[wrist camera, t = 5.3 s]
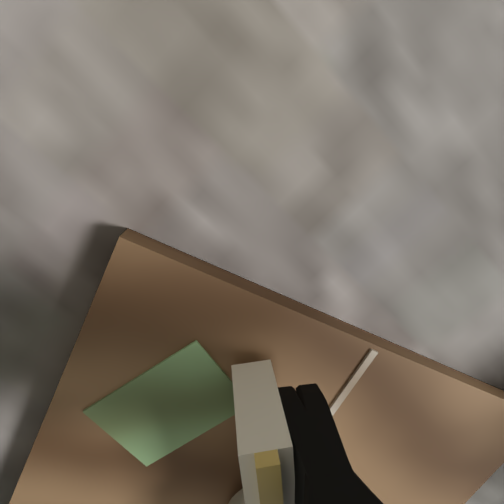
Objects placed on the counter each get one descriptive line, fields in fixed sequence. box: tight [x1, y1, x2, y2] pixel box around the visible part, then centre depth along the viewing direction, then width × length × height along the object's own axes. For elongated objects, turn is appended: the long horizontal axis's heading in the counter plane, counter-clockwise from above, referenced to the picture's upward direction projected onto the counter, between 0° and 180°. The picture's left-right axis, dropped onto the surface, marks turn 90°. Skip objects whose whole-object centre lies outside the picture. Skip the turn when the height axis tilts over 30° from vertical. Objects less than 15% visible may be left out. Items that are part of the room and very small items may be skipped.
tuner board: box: [9, 229, 504, 504], centre depth 15 cm, size 18×20×1 cm
